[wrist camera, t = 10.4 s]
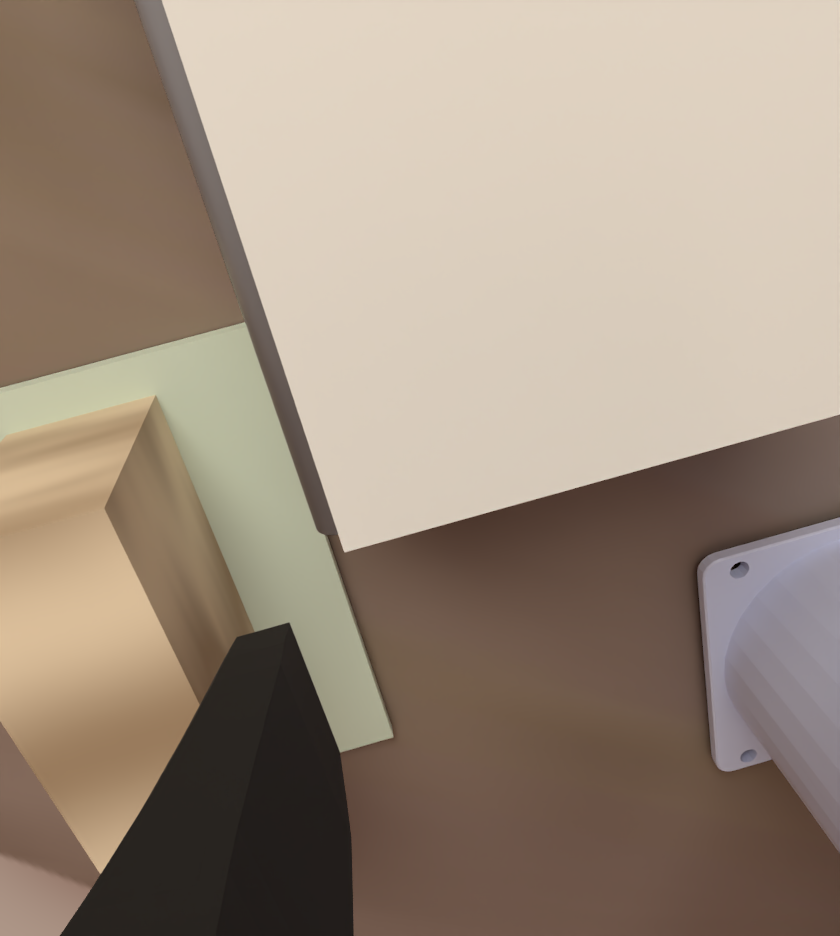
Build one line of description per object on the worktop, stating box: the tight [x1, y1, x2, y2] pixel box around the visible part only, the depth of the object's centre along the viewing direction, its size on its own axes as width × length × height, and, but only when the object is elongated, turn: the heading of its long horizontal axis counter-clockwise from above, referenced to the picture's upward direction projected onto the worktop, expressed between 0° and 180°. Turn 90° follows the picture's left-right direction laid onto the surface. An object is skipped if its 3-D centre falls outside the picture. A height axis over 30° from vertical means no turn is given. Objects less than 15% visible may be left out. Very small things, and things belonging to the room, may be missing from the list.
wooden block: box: [0, 395, 255, 874], centre depth 16 cm, size 10×3×5 cm, turn 13°
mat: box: [0, 322, 393, 752], centre depth 19 cm, size 8×12×1 cm, turn 13°
